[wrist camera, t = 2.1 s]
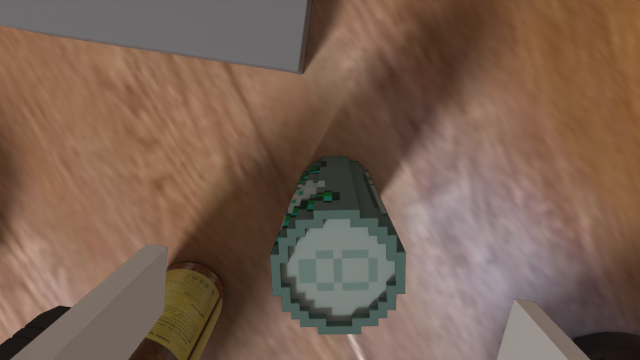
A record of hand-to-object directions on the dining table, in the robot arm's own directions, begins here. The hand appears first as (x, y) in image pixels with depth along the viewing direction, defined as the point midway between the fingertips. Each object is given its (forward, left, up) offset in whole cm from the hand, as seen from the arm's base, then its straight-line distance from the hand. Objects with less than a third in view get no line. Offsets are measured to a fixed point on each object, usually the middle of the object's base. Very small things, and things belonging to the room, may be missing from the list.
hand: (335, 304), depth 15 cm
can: (0, 0, -18) cm, 18 cm away
